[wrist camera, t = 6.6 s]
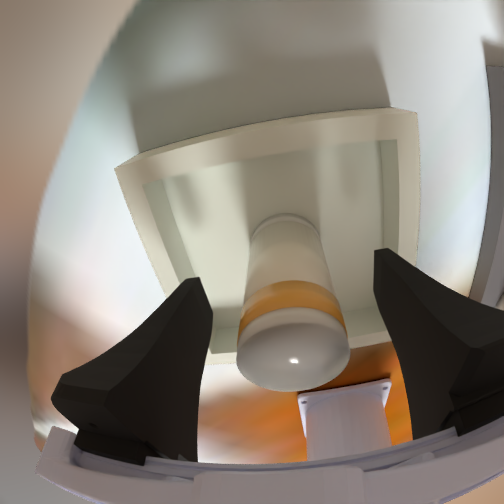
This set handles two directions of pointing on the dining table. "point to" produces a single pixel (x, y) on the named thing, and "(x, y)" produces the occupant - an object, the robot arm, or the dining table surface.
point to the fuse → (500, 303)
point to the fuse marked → (290, 310)
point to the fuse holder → (493, 204)
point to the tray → (280, 207)
